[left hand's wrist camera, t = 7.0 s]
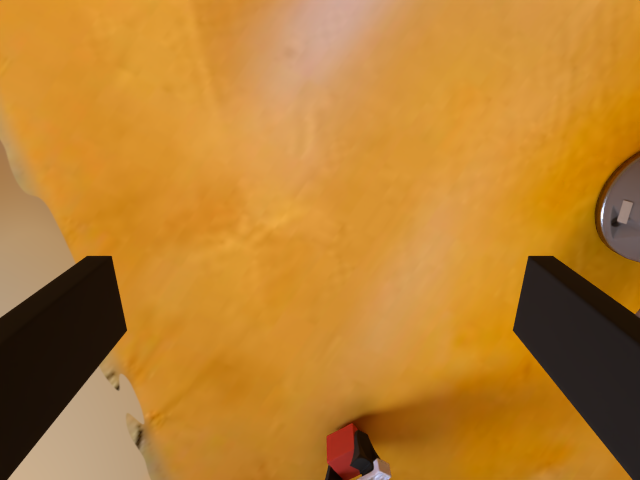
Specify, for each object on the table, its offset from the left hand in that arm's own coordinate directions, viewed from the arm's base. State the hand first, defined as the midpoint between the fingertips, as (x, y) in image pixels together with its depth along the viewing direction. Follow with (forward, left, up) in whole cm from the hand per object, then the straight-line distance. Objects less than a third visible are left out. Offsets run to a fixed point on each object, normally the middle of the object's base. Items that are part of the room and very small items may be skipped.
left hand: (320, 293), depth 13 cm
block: (+38, +27, -36) cm, 59 cm away
